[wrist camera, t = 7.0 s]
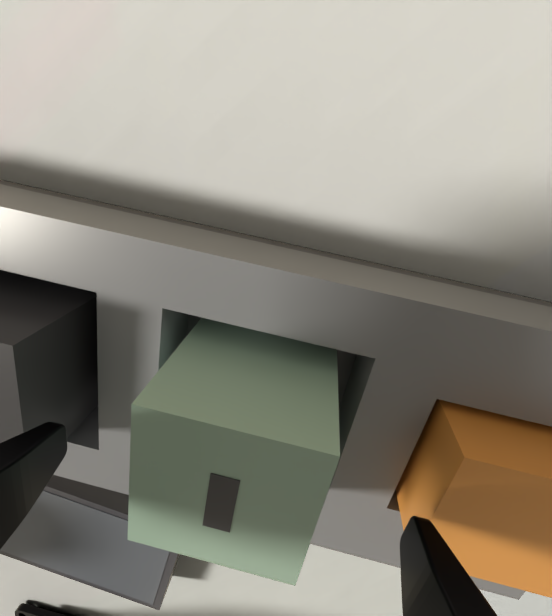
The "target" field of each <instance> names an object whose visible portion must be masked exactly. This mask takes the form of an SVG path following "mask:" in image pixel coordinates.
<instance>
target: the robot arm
mask: <svg viewBox="0 0 552 616" xmlns="http://www.w3.org/2000/svg"><path fill="white" fill-rule="evenodd" d="M66 452H67V433H66V427H65V425H63V424H59V423H56V422H46V423H44V424H41V425H39V426H37V427H35V428H32V429H30V430H28V431H26V432H23V433H21V434H19V435H17V436H15V437H12V438H10V439H8V440H6V441H3V442H1V443H0V549H1V548H2V547H3V546H4V544H5V543H6V542H7V540H8V539H9V538H10V537H11V535H12V534H13V533H14V531H15V530H16V529H17V528H18V526H19V525H20V524H21V522H22V521H23V520H24V518H25V517H26V516H27V514H28V513H29V511H30V510H31V508H32V507H33V505H34V504H35V502H36V501H37V499H38V498H39V496H40V495H41V493H42V491H43V490H44V488H45V487H46V485H47V484H48V482H49V481H50V479H51V477H52V476H53V474H54V473H55V471H56V470H57V468H58V467H59V465H60V463H61V462H62V460H63V459H64V457H65V455H66ZM400 565H401V587H402V608H403V616H497V614H496V613H495V612H494V610H493V609H492V607H491V606H490V605H489V603H488V602H487V600H486V599H485V597H484V596H483V595H482V593H481V592H480V590H479V589H478V587H477V586H476V585H475V583H474V582H473V580H472V579H471V577H470V576H469V575H468V573H467V572H466V570H465V569H464V567H463V566H462V565H461V563H460V562H459V560H458V559H457V557H456V556H455V555H454V553H453V552H452V550H451V549H450V547H449V546H448V545H447V543H446V542H445V540H444V539H443V538H442V536H441V535H440V533H439V532H438V530H437V529H436V528H435V526H434V525H433V523H432V522H431V521H430V520H428V519H426V518H422V517H418V516H412V517H411V518H410V520H409V522H408V524H407V526H406V527H405V529H404V531H403V533H402V536H401V539H400ZM15 616H66V615H63V614H59V613H56V612H52V611H49V610H45V609H42V608H38V607H35V606H32V605H28V604H24V603H23V604H20V605H19V607H18V608H17V610H16V611H15Z"/></svg>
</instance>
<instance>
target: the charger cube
mask: <svg viewBox="0 0 552 616" xmlns="http://www.w3.org/2000/svg"><path fill="white" fill-rule="evenodd" d="M339 459H340V434H339V400H338V366H337V349H332V348H328V347H324V346H320V345H316V344H311V343H307V342H303V341H299V340H294V339H290V338H286V337H282V336H278V335H273V334H269V333H265V332H261V331H257V330H252V329H248V328H244V327H240V326H235V325H231V324H227V323H223V322H219V321H214V320H210V319H206V318H201V319H200V320H199V321H198V323H197V324H196V325H195V326H194V328H193V329H192V330H191V331H190V333H189V334H188V335H187V336H186V337H185V339H184V340H183V341H182V342H181V344H180V345H179V346H178V347H177V349H176V350H175V351H174V352H173V353H172V355H171V356H170V357H169V358H168V360H167V361H166V362H165V363H164V365H163V366H162V367H161V368H160V370H159V371H158V372H157V373H156V374H155V376H154V377H153V378H152V379H151V381H150V382H149V383H148V384H147V386H146V387H145V388H144V389H143V390H142V392H141V393H140V394H139V395H138V397H137V398H136V399H135V400H134V402H133V403H132V404H131V436H130V470H129V505H128V539H127V540H130V541H134V542H137V543H141V544H145V545H148V546H152V547H156V548H159V549H163V550H167V551H170V552H174V553H177V554H181V555H185V556H188V557H192V558H196V559H199V560H203V561H207V562H210V563H214V564H218V565H221V566H225V567H229V568H232V569H236V570H239V571H243V572H247V573H250V574H254V575H258V576H261V577H265V578H269V579H272V580H276V581H280V582H283V583H287V584H291V585H294V586H295V585H296V582H297V579H298V576H299V573H300V570H301V567H302V565H303V562H304V559H305V556H306V553H307V550H308V547H309V544H310V542H311V539H312V536H313V533H314V530H315V527H316V524H317V522H318V519H319V516H320V513H321V510H322V507H323V504H324V502H325V499H326V496H327V493H328V490H329V487H330V484H331V481H332V479H333V476H334V473H335V470H336V467H337V464H338V461H339Z"/></svg>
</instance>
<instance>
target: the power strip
mask: <svg viewBox="0 0 552 616" xmlns="http://www.w3.org/2000/svg"><path fill="white" fill-rule="evenodd" d="M201 318H206V319H210V320H214V321H219V322H223V323H227V324H231V325H235V326H240V327H244V328H248V329H252V330H257V331H261V332H265V333H269V334H273V335H278V336H282V337H286V338H290V339H294V340H299V341H303V342H307V343H311V344H316V345H320V346H324V347H328V348H332V349H337V366H338V400H339V434H340V459H339V461H338V464H337V467H336V470H335V473H334V476H333V479H332V481H331V484H330V487H329V490H328V493H327V496H326V499H325V502H324V504H323V507H322V510H321V513H320V516H319V519H318V522H317V524H316V527H315V530H314V533H313V536H312V539H311V542H310V544H313V545H317V546H321V547H324V548H328V549H332V550H336V551H339V552H343V553H347V554H351V555H354V556H358V557H362V558H365V559H369V560H373V561H377V562H380V563H384V564H388V565H392V566H395V567H399V568H401V565H400V539H401V536H402V533H403V526H402V520H401V515H400V510H399V505H398V500H397V495H396V487H397V485H398V482H399V480H400V478H401V476H402V474H403V472H404V469H405V467H406V465H407V463H408V461H409V458H410V456H411V454H412V452H413V450H414V448H415V445H416V443H417V441H418V439H419V437H420V435H421V432H422V430H423V428H424V426H425V424H426V421H427V419H428V417H429V415H430V413H431V411H432V408H433V406H434V404H435V402H436V400H437V399H439V400H443V401H447V402H452V403H456V404H460V405H464V406H468V407H472V408H476V409H481V410H485V411H489V412H493V413H497V414H501V415H505V416H510V417H514V418H518V419H522V420H526V421H530V422H534V423H539V424H543V425H547V426H551V427H552V302H547V301H543V300H538V299H534V298H529V297H525V296H520V295H516V294H511V293H507V292H502V291H498V290H493V289H489V288H484V287H480V286H475V285H471V284H466V283H462V282H457V281H453V280H448V279H444V278H439V277H435V276H430V275H426V274H421V273H417V272H412V271H408V270H403V269H399V268H394V267H390V266H385V265H381V264H376V263H372V262H367V261H363V260H358V259H354V258H349V257H345V256H340V255H336V254H331V253H327V252H322V251H318V250H313V249H309V248H304V247H300V246H295V245H291V244H286V243H282V242H277V241H273V240H268V239H264V238H259V237H255V236H251V235H246V234H242V233H237V232H233V231H228V230H224V229H219V228H215V227H210V226H206V225H201V224H197V223H192V222H188V221H183V220H179V219H174V218H170V217H165V216H161V215H156V214H152V213H147V212H143V211H138V210H134V209H129V208H125V207H120V206H116V205H111V204H107V203H102V202H98V201H93V200H89V199H84V198H80V197H75V196H71V195H66V194H62V193H57V192H53V191H48V190H44V189H39V188H35V187H30V186H26V185H21V184H17V183H12V182H8V181H3V180H0V443H1V442H3V441H6V440H8V439H10V438H12V437H15V436H17V435H19V434H21V433H23V432H26V431H28V430H30V429H32V428H35V427H37V426H39V425H41V424H44V423H46V422H56V423H59V424H63V425H65V427H66V433H67V452H66V455H65V457H64V459H63V460H62V462H61V463H60V465H59V467H58V468H57V470H56V471H55V473H54V474H53V475H56V476H60V477H64V478H67V479H71V480H75V481H79V482H82V483H86V484H90V485H93V486H97V487H101V488H105V489H108V490H112V491H116V492H120V493H123V494H127V495H129V470H130V436H131V404H132V403H133V402H134V400H135V399H136V398H137V397H138V395H139V394H140V393H141V392H142V390H143V389H144V388H145V387H146V386H147V384H148V383H149V382H150V381H151V379H152V378H153V377H154V376H155V374H156V373H157V372H158V371H159V370H160V368H161V367H162V366H163V365H164V363H165V362H166V361H167V360H168V358H169V357H170V356H171V355H172V353H173V352H174V351H175V350H176V349H177V347H178V346H179V345H180V344H181V342H182V341H183V340H184V339H185V337H186V336H187V335H188V334H189V333H190V331H191V330H192V329H193V328H194V326H195V325H196V324H197V323H198V321H199V320H200V319H201ZM470 577H471V579H472V580H473V582H474V583H475V585H476V586H477V587H478V589H481V590H485V591H488V592H492V593H496V594H500V595H503V596H507V597H511V598H514V599H518V600H519V599H520V597H521V596H522V595H523V594H524V592H525V591H524V590H520V589H517V588H513V587H509V586H505V585H502V584H498V583H494V582H490V581H487V580H483V579H479V578H475V577H472V576H470Z"/></svg>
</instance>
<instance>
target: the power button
mask: <svg viewBox="0 0 552 616" xmlns="http://www.w3.org/2000/svg"><path fill="white" fill-rule="evenodd" d="M396 495H397V500H398V505H399V510H400V515H401V520H402V526H403V531H404V529H405V527H406V526H407V524H408V522H409V520H410V518H411V517H412V516H418V517H422V518H426V519H428V520H430V521H431V522H432V523H433V525H434V526H435V528H436V529H437V530H438V532H439V533H440V535H441V536H442V538H443V539H444V540H445V542H446V543H447V545H448V546H449V547H450V549H451V550H452V552H453V553H454V555H455V556H456V557H457V559H458V560H459V562H460V563H461V565H462V566H463V567H464V569H465V570H466V572H467V573H468V575H469V576H472V577H475V578H479V579H483V580H487V581H490V582H494V583H498V584H502V585H505V586H509V587H513V588H517V589H520V590H524V591H528V592H532V593H535V594H539V595H543V596H547V597H550V598H551V597H552V427H551V426H547V425H543V424H539V423H534V422H530V421H526V420H522V419H518V418H514V417H510V416H505V415H501V414H497V413H493V412H489V411H485V410H481V409H476V408H472V407H468V406H464V405H460V404H456V403H452V402H447V401H443V400H439V399H437V400H436V402H435V404H434V406H433V408H432V411H431V413H430V415H429V417H428V419H427V421H426V424H425V426H424V428H423V430H422V432H421V435H420V437H419V439H418V441H417V443H416V445H415V448H414V450H413V452H412V454H411V456H410V458H409V461H408V463H407V465H406V467H405V469H404V472H403V474H402V476H401V478H400V480H399V482H398V485H397V487H396Z"/></svg>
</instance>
